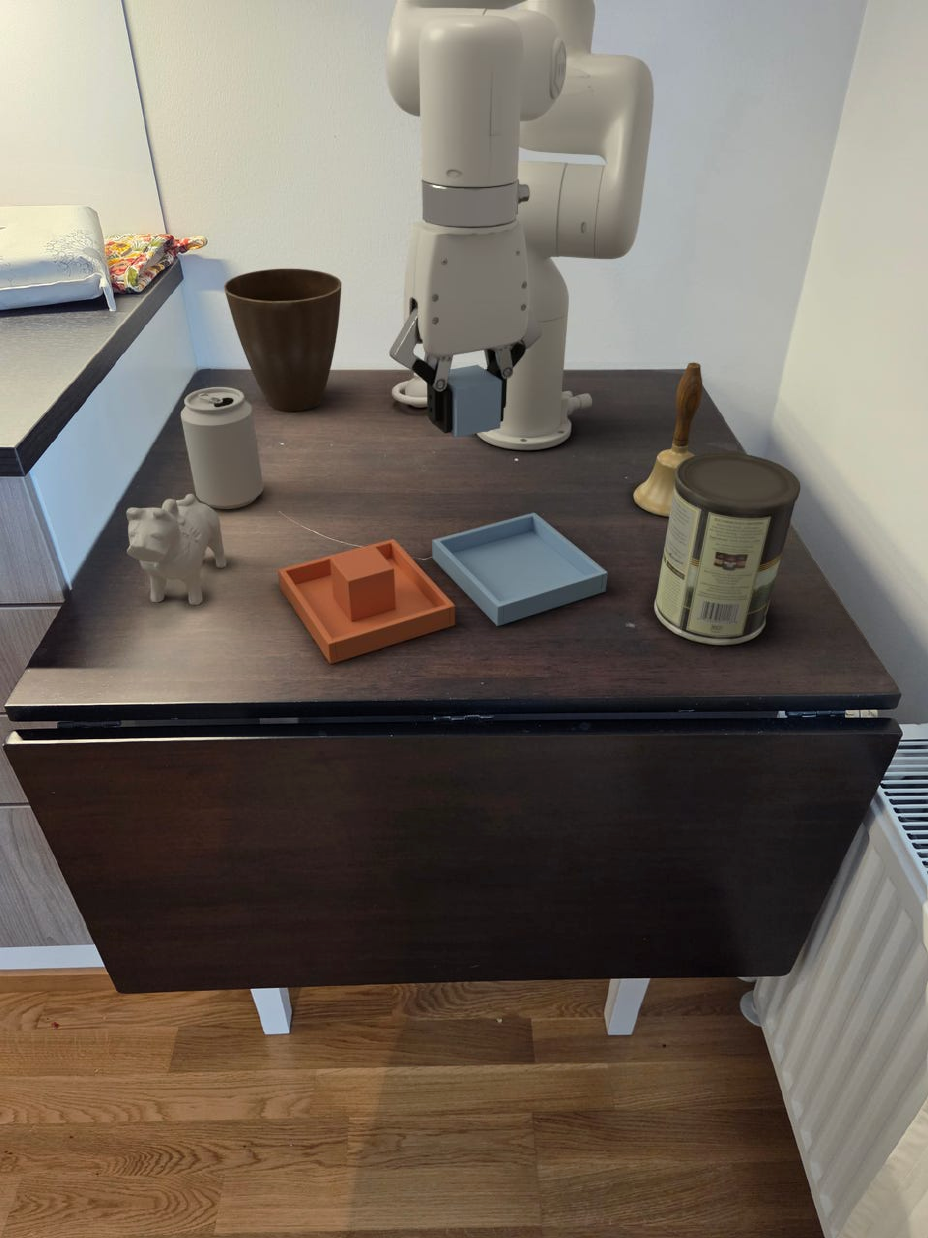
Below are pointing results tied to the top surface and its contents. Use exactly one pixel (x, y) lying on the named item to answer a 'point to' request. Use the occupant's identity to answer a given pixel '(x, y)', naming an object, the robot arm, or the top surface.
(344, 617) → the terracotta tray
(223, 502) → the can
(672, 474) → the hand bell
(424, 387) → the ring around a ball
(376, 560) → the terracotta block
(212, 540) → the dog figurine
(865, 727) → the top surface
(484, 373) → the blue block
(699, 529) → the coffee can
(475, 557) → the blue tray
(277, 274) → the flower pot
